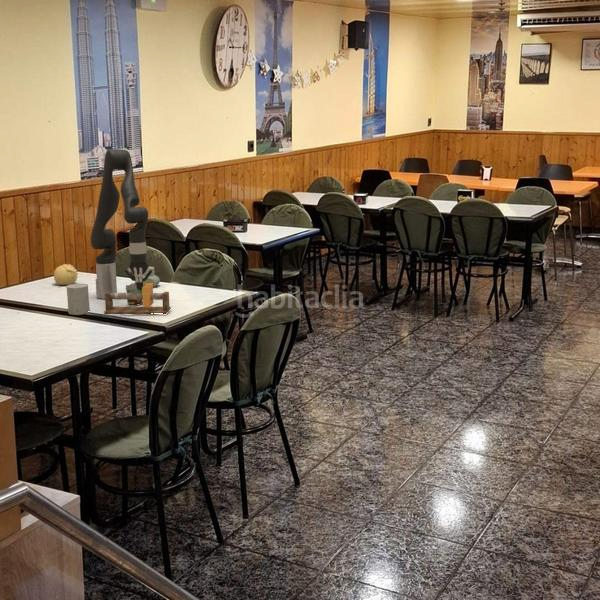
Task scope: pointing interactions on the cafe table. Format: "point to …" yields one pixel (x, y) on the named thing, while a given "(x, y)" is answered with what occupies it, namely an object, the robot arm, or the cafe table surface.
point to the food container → (133, 289)
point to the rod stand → (135, 310)
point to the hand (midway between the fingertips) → (140, 290)
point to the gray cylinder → (78, 299)
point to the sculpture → (65, 275)
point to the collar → (147, 295)
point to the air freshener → (151, 278)
